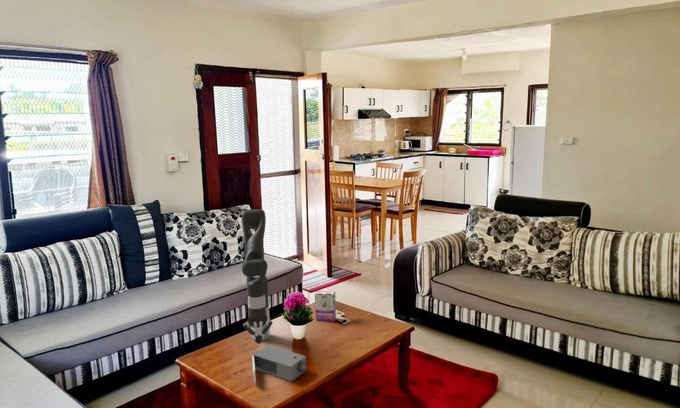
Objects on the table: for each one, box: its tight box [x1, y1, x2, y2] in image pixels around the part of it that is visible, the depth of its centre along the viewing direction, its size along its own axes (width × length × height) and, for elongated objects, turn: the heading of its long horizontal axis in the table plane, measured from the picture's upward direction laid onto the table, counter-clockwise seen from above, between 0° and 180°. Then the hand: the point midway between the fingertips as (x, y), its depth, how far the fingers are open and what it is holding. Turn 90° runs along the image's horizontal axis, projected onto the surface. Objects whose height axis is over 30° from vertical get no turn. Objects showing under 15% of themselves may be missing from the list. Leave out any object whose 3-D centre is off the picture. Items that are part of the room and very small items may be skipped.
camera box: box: [252, 344, 308, 382], centre depth 221 cm, size 24×11×8 cm, turn 57°
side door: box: [251, 354, 257, 385], centre depth 215 cm, size 14×1×6 cm, turn 12°
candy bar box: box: [314, 290, 337, 322], centre depth 275 cm, size 11×5×16 cm, turn 80°
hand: (258, 342), depth 209 cm, fingers closed
